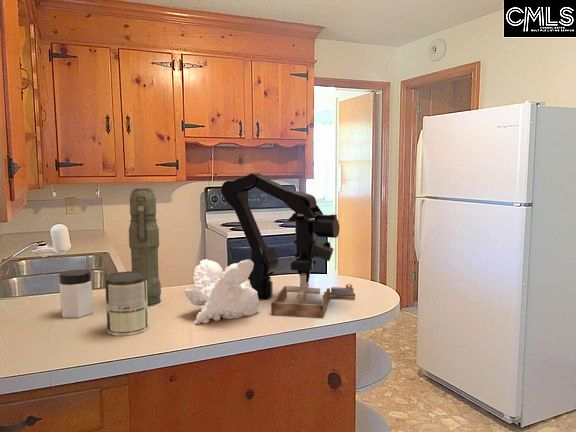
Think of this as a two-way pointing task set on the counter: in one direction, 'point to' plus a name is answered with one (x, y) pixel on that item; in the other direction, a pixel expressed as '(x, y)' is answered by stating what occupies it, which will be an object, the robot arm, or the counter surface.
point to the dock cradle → (303, 305)
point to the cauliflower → (223, 291)
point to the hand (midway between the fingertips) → (306, 285)
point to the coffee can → (126, 303)
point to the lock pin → (343, 291)
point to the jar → (76, 293)
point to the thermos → (145, 240)
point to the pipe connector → (303, 289)
